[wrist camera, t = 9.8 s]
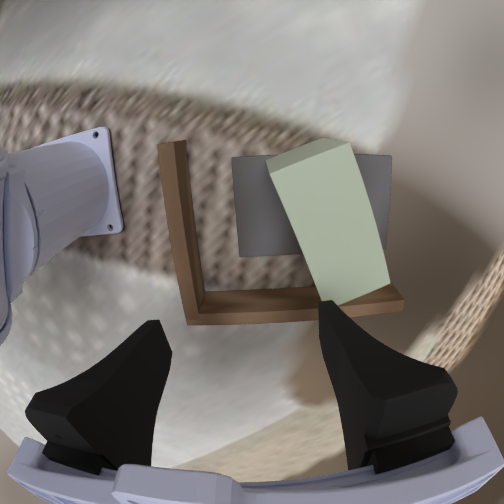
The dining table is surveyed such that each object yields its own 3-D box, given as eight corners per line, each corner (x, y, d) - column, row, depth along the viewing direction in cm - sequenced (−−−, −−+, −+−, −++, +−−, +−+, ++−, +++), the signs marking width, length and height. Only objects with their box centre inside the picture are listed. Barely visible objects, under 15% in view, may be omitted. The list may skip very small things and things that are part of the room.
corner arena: (194, 302, 23) (187, 325, 21) (171, 141, 18) (157, 144, 16) (388, 290, 23) (402, 310, 20) (401, 135, 18) (422, 138, 15)
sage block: (309, 263, 21) (325, 310, 16) (265, 160, 19) (269, 173, 13) (359, 243, 21) (390, 283, 15) (321, 137, 18) (349, 142, 12)
